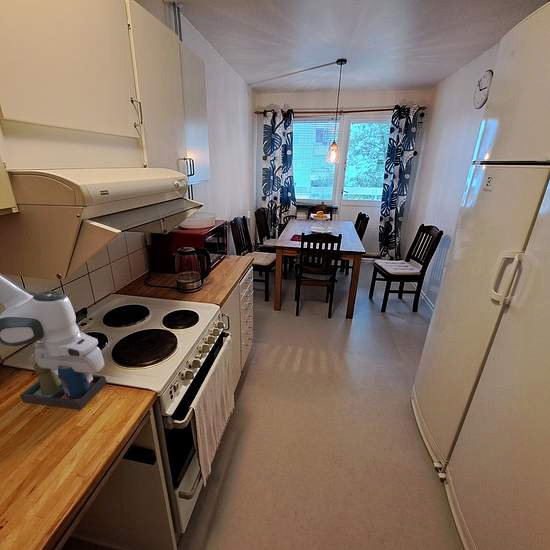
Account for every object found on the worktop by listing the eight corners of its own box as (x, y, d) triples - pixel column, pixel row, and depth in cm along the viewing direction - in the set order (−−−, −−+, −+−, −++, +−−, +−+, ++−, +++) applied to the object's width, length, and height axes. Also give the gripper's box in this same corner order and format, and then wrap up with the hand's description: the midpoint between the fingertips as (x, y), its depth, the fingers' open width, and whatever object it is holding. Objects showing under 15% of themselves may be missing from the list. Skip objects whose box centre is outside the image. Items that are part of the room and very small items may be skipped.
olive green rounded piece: (37, 397, 90) (26, 369, 86) (45, 383, 95) (36, 356, 91) (59, 393, 91) (49, 365, 87) (66, 380, 97) (58, 353, 92)
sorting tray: (22, 402, 88) (19, 394, 87) (54, 376, 99) (51, 369, 98) (81, 410, 86) (78, 402, 85) (107, 383, 97) (105, 376, 96)
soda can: (95, 383, 95) (87, 354, 91) (86, 399, 89) (76, 368, 85) (72, 385, 94) (63, 356, 90) (61, 402, 88) (51, 371, 84)
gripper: (23, 345, 83) (37, 382, 88) (87, 352, 80) (97, 390, 86) (42, 333, 89) (54, 369, 94) (102, 339, 86) (111, 376, 91)
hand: (75, 379), depth 90 cm, fingers open, 8 cm apart
